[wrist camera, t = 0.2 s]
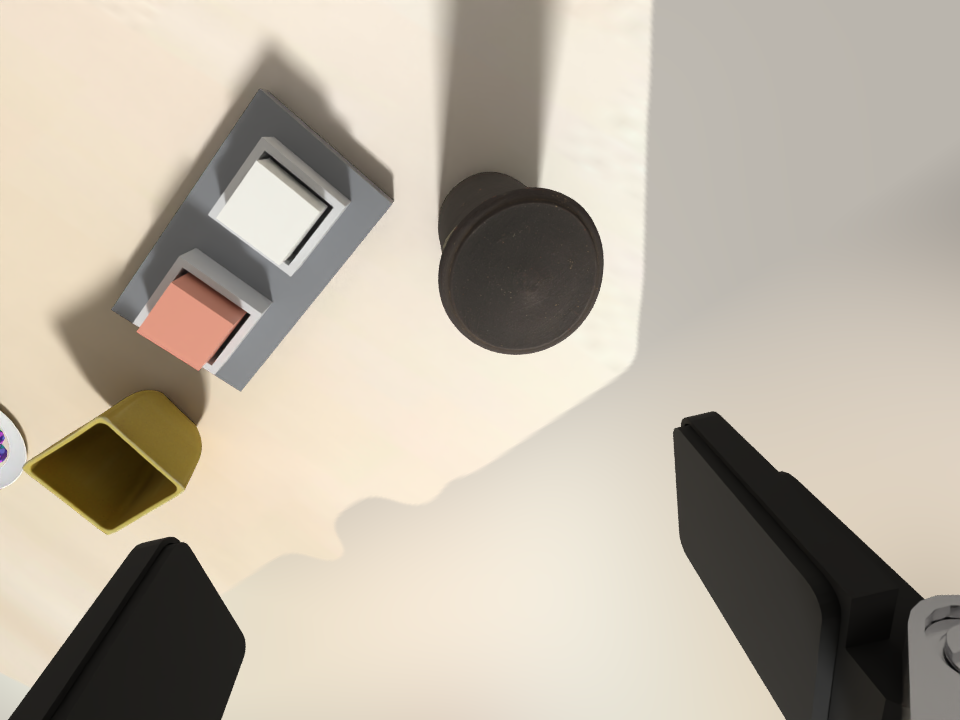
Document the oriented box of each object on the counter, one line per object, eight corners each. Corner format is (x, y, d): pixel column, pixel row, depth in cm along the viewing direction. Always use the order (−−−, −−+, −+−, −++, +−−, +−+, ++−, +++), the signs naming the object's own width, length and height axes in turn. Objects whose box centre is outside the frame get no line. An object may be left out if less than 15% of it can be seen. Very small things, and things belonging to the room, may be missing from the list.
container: (414, 210, 42) (401, 268, 24) (501, 143, 41) (557, 151, 23) (474, 290, 46) (502, 392, 28) (556, 230, 44) (644, 298, 26)
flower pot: (159, 473, 51) (107, 538, 43) (88, 411, 47) (17, 468, 39) (227, 432, 50) (186, 491, 41) (159, 364, 46) (101, 414, 38)
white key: (231, 212, 37) (215, 218, 35) (269, 158, 36) (256, 160, 33) (289, 256, 39) (279, 265, 36) (328, 206, 38) (319, 211, 35)
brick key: (156, 318, 40) (136, 331, 37) (189, 271, 39) (171, 282, 36) (213, 355, 42) (198, 370, 39) (247, 312, 41) (233, 324, 38)
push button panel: (124, 302, 43) (88, 321, 39) (267, 90, 38) (245, 84, 33) (248, 381, 48) (228, 407, 43) (393, 200, 42) (389, 209, 37)
